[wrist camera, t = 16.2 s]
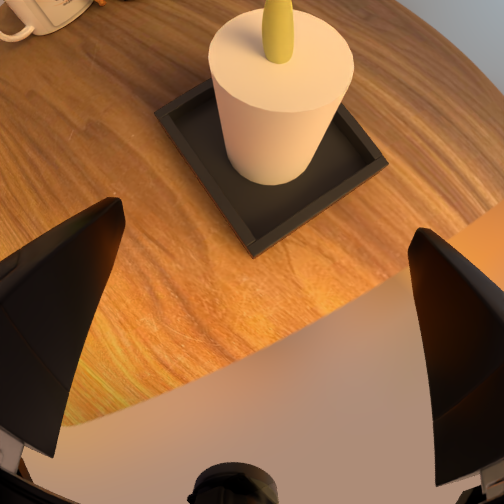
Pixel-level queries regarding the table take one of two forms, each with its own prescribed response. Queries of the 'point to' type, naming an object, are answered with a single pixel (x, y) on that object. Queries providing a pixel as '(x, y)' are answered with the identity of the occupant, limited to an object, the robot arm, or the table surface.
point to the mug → (44, 15)
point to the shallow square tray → (268, 196)
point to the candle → (277, 88)
